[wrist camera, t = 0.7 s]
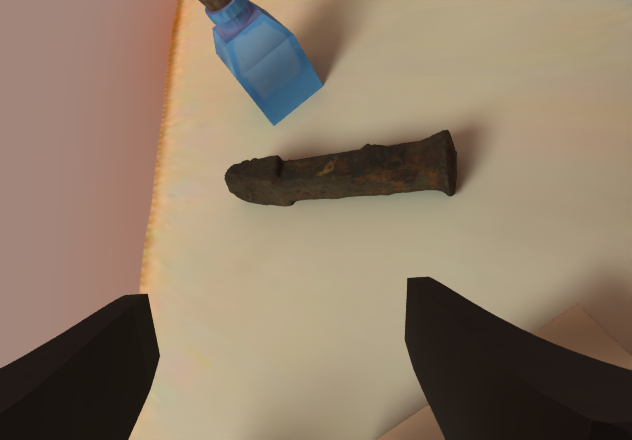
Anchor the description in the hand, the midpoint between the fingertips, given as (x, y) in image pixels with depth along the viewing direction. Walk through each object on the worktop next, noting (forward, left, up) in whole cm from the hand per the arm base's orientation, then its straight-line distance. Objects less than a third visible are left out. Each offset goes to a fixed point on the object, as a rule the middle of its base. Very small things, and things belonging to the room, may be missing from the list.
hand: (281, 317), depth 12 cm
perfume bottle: (+31, -5, -16) cm, 35 cm away
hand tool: (+15, -3, -16) cm, 23 cm away
